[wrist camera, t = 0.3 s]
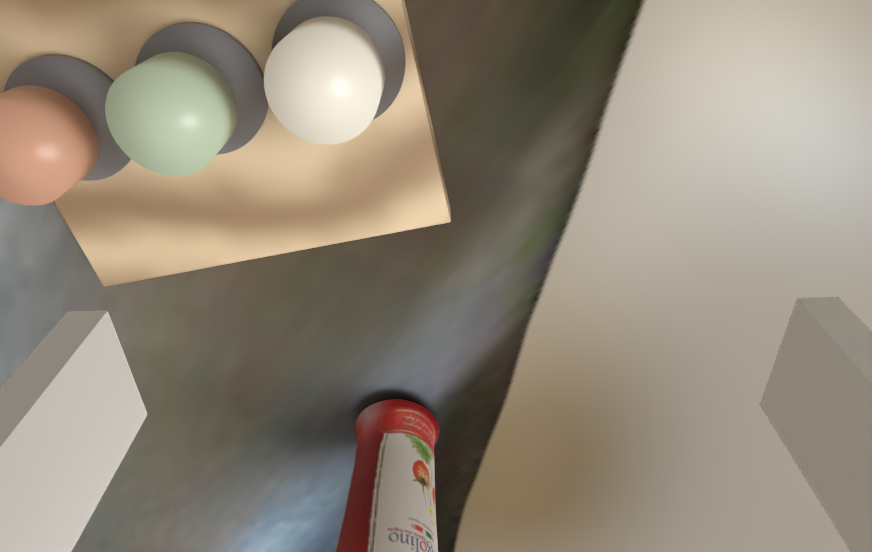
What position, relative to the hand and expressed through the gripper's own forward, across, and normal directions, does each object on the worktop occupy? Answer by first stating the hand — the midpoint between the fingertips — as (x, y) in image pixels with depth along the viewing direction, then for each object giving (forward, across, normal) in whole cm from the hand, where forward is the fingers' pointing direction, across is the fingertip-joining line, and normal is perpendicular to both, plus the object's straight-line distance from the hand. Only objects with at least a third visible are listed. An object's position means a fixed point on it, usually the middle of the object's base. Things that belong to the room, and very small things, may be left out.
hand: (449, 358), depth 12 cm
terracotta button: (+22, -21, -3) cm, 31 cm away
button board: (+27, -14, -1) cm, 30 cm away
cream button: (+22, -6, 0) cm, 23 cm away
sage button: (+22, -14, -1) cm, 26 cm away
